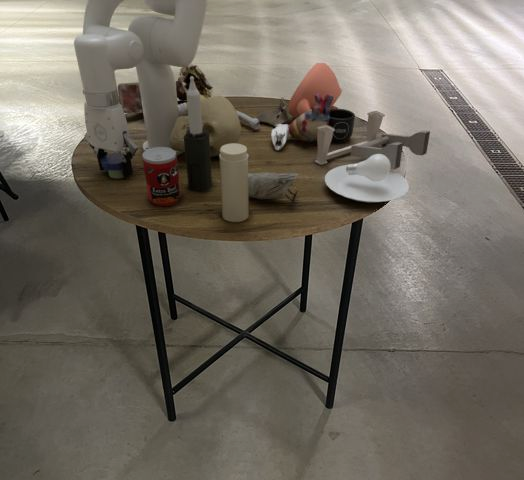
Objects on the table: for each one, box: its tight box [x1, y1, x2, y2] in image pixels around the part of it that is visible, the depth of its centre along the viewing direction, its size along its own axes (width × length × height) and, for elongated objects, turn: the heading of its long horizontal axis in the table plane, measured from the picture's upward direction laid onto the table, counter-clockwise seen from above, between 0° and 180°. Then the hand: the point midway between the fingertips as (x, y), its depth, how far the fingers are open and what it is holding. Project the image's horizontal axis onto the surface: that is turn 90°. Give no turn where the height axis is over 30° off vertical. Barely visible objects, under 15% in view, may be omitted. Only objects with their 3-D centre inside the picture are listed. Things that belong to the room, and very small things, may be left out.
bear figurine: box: [175, 64, 214, 103], centre depth 164 cm, size 14×15×12 cm
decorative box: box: [117, 81, 143, 115], centre depth 153 cm, size 13×20×10 cm
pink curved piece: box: [287, 62, 343, 119], centre depth 149 cm, size 25×17×13 cm
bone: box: [235, 109, 261, 131], centre depth 151 cm, size 18×5×4 cm
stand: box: [107, 169, 124, 179], centre depth 124 cm, size 5×5×4 cm
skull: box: [170, 95, 242, 158], centre depth 132 cm, size 14×17×20 cm
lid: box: [101, 152, 126, 171], centre depth 122 cm, size 7×7×2 cm
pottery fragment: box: [253, 96, 289, 128], centre depth 155 cm, size 18×11×5 cm, turn 2°
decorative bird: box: [249, 172, 300, 205], centre depth 114 cm, size 5×16×7 cm, turn 77°
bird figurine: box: [270, 123, 290, 151], centre depth 140 cm, size 5×7×10 cm
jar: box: [218, 143, 250, 223], centre depth 106 cm, size 6×6×15 cm
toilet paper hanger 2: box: [350, 130, 431, 171], centre depth 132 cm, size 22×13×6 cm, turn 143°
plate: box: [324, 164, 410, 204], centre depth 120 cm, size 21×21×2 cm
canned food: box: [141, 147, 182, 207], centre depth 112 cm, size 8×8×11 cm
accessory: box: [287, 136, 318, 147], centre depth 143 cm, size 9×9×1 cm
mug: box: [328, 108, 356, 143], centre depth 143 cm, size 12×9×7 cm
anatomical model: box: [288, 94, 333, 143], centre depth 137 cm, size 10×9×15 cm
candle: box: [184, 76, 213, 193], centre depth 112 cm, size 5×5×25 cm
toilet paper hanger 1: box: [314, 110, 386, 166], centre depth 133 cm, size 23×9×4 cm
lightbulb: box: [346, 154, 392, 181], centre depth 118 cm, size 6×6×11 cm
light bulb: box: [178, 95, 205, 117], centre depth 154 cm, size 6×6×10 cm
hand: (116, 171), depth 124 cm, fingers closed on lid, 7 cm apart
